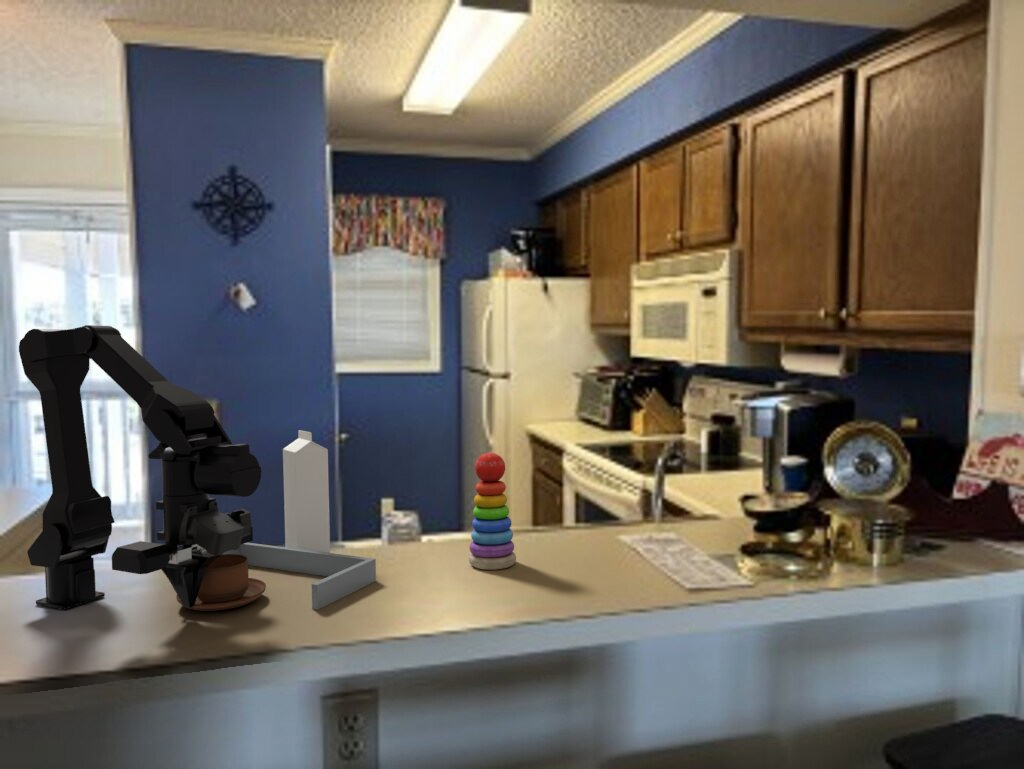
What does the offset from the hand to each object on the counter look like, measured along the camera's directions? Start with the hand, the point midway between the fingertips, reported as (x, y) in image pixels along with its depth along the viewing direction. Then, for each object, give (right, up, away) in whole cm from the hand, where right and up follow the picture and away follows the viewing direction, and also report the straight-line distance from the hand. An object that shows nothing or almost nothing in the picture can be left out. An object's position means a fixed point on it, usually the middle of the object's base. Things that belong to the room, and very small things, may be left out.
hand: (189, 607), depth 101 cm
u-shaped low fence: (+6, -1, +14) cm, 16 cm away
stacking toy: (+40, 0, +24) cm, 47 cm away
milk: (+7, 0, +31) cm, 32 cm away
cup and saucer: (+2, -2, +7) cm, 7 cm away
